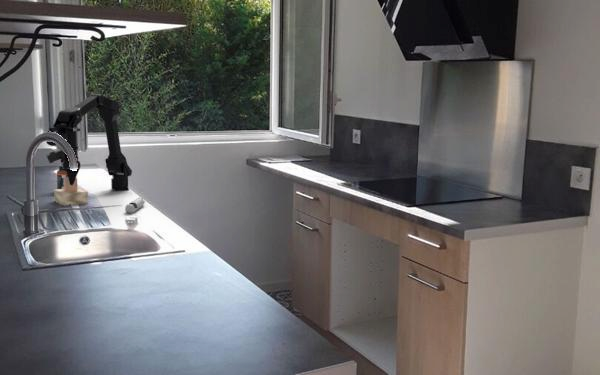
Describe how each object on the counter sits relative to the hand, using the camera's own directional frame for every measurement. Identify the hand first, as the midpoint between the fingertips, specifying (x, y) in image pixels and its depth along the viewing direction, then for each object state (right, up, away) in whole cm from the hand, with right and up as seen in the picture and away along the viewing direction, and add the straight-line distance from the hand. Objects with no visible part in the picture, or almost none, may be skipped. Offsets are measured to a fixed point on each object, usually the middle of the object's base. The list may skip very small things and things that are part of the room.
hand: (70, 183), depth 249 cm
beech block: (0, -8, +1) cm, 8 cm away
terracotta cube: (0, -3, +1) cm, 3 cm away
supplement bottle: (-11, -4, +23) cm, 25 cm away
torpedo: (+27, -10, -8) cm, 30 cm away
